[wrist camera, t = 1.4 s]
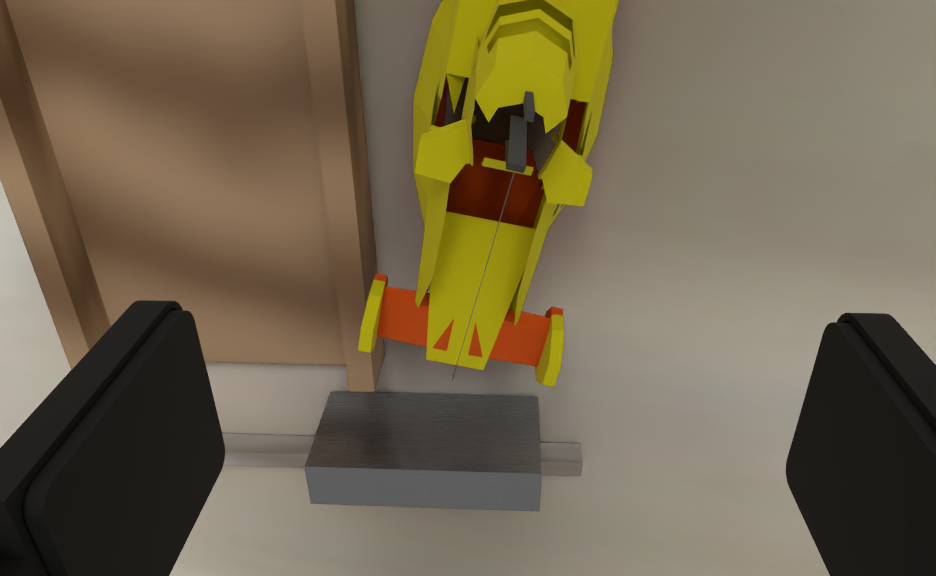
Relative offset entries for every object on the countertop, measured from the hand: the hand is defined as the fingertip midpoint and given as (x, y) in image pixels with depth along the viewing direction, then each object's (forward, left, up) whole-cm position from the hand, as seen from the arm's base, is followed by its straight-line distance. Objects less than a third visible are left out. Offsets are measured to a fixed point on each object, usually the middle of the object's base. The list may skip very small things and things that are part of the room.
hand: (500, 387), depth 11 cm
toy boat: (0, 0, -16) cm, 16 cm away
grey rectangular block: (+14, -3, -15) cm, 21 cm away
